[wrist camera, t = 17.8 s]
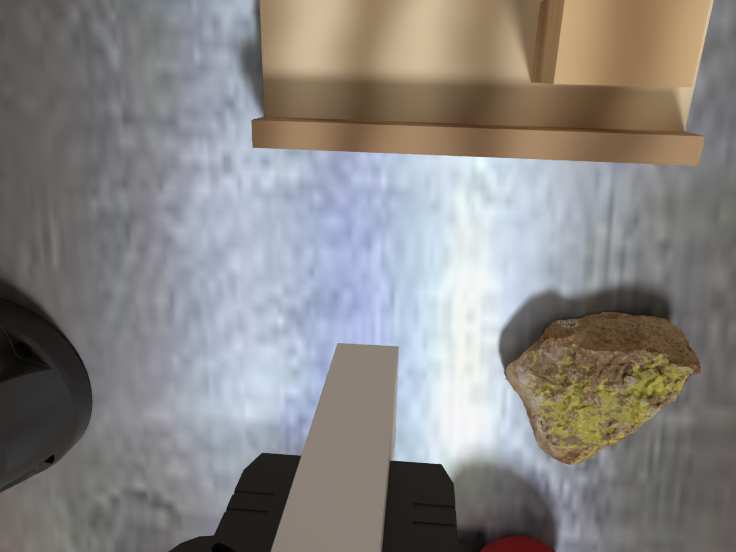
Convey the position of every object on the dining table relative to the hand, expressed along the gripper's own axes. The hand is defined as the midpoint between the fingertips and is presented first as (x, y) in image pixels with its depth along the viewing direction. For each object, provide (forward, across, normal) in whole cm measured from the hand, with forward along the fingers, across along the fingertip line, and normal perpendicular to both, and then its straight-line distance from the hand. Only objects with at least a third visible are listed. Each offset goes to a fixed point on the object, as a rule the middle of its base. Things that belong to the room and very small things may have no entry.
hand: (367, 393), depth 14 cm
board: (+23, +4, +9) cm, 25 cm away
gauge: (+21, +10, +11) cm, 26 cm away
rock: (+24, +13, -12) cm, 30 cm away
